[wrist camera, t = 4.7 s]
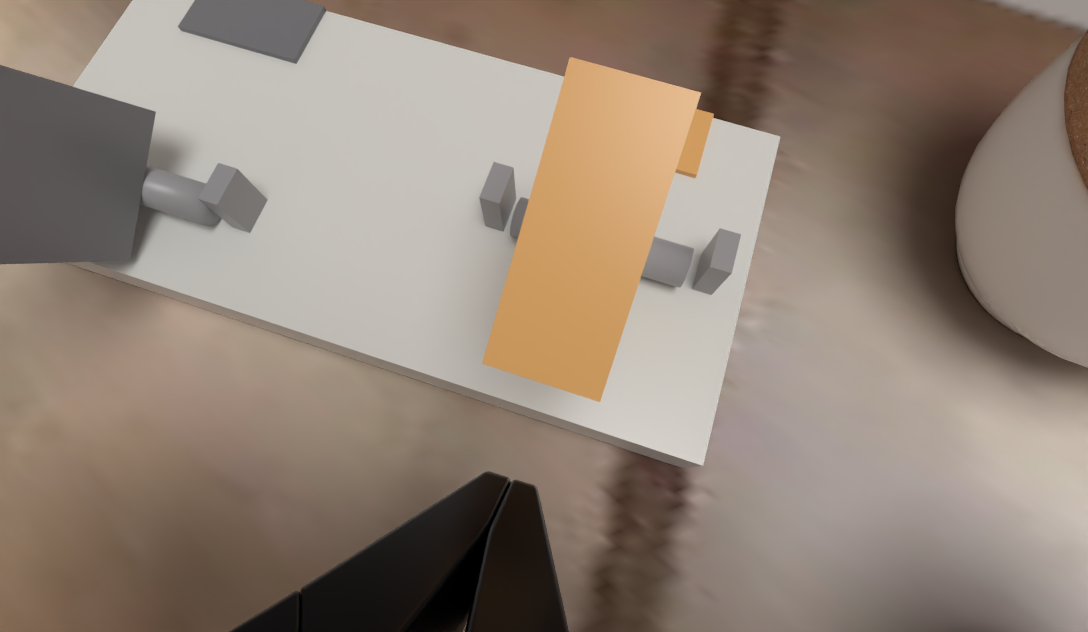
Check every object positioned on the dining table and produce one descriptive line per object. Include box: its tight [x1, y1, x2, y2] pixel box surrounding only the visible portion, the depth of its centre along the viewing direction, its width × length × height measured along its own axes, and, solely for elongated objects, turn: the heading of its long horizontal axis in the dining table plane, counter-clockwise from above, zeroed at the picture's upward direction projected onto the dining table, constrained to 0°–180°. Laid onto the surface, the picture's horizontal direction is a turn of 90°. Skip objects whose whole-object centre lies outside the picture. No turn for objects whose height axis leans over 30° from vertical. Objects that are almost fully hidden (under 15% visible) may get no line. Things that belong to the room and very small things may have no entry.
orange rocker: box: [482, 57, 701, 402], centre depth 12 cm, size 4×5×9 cm
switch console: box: [65, 0, 780, 468], centre depth 18 cm, size 11×23×4 cm, turn 71°
